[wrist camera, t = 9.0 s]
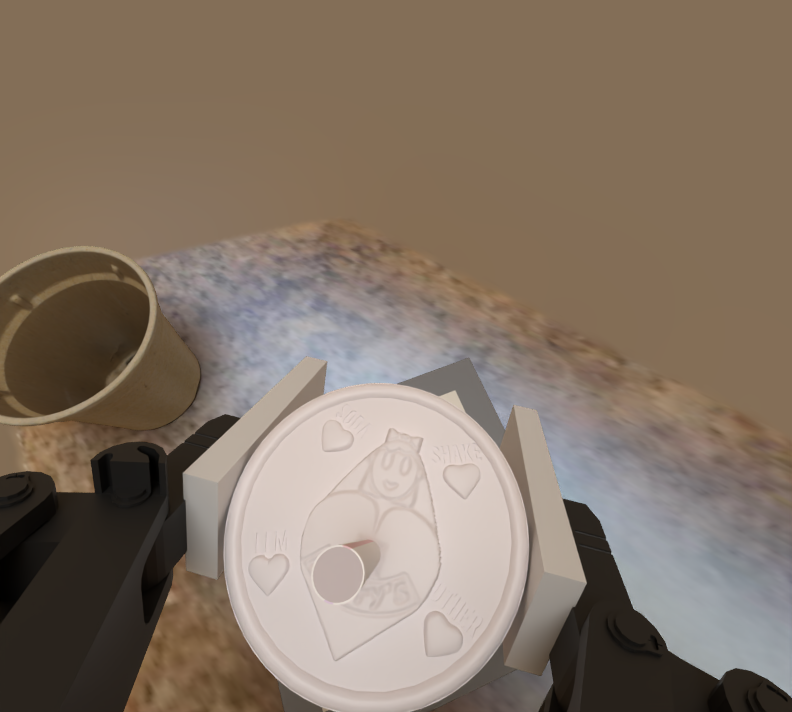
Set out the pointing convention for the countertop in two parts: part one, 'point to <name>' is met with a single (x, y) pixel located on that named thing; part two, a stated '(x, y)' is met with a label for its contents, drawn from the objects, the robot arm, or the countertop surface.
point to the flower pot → (89, 344)
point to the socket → (470, 396)
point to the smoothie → (376, 549)
